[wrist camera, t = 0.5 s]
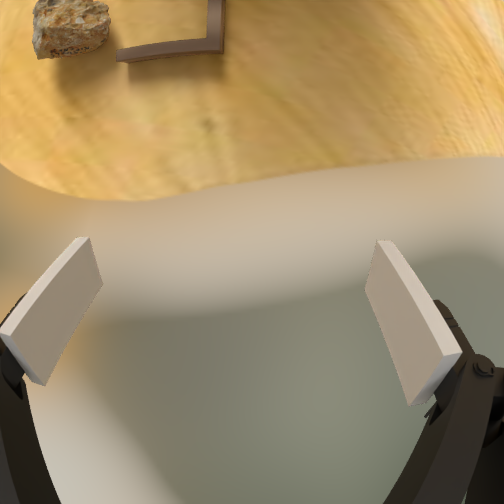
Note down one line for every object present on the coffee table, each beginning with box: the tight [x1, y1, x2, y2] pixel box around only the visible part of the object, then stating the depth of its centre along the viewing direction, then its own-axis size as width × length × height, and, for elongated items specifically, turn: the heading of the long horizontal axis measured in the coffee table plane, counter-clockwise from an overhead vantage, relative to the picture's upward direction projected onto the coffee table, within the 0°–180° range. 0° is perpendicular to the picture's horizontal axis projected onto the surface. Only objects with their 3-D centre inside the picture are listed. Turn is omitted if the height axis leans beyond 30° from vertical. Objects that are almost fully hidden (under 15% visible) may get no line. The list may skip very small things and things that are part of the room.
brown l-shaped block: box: [116, 0, 225, 63], centre depth 24 cm, size 15×12×4 cm
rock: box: [32, 0, 111, 60], centre depth 22 cm, size 12×10×10 cm
